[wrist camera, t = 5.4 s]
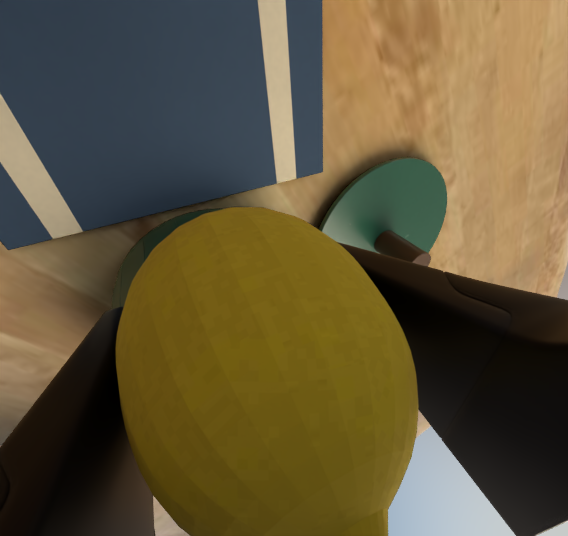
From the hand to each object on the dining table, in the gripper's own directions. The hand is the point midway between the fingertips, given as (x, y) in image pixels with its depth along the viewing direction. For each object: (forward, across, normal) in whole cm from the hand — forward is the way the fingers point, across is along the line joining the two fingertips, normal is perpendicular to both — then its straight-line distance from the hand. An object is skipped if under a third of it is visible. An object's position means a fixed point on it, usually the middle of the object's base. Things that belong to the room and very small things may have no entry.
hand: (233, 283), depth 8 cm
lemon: (+2, 0, 0) cm, 2 cm away
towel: (+13, 0, -3) cm, 13 cm away
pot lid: (+12, -16, +10) cm, 23 cm away
